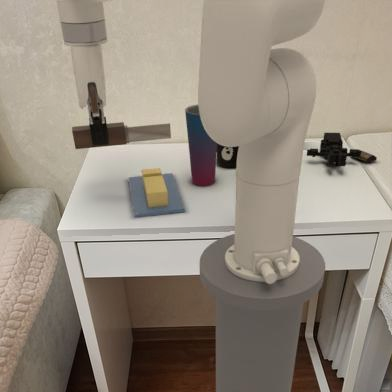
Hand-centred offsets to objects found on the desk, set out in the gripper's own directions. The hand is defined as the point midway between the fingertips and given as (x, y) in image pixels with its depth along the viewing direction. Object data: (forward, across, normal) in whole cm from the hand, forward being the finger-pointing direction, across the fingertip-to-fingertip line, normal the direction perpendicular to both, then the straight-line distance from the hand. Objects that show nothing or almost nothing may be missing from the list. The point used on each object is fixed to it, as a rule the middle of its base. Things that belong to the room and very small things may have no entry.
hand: (100, 140), depth 98 cm
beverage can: (+12, -11, +29) cm, 33 cm away
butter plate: (+11, +2, +10) cm, 15 cm away
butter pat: (+11, -2, +10) cm, 15 cm away
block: (+11, -6, +60) cm, 61 cm away
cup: (+12, -3, +21) cm, 24 cm away
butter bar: (+11, +5, +10) cm, 15 cm away
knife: (+1, 0, +5) cm, 5 cm away
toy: (+9, +2, +50) cm, 51 cm away
